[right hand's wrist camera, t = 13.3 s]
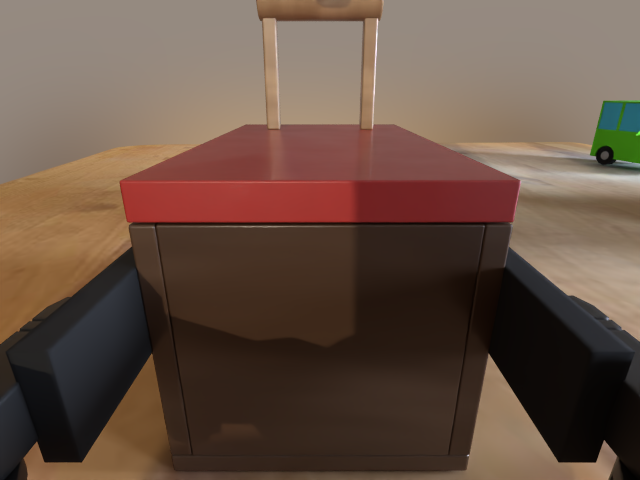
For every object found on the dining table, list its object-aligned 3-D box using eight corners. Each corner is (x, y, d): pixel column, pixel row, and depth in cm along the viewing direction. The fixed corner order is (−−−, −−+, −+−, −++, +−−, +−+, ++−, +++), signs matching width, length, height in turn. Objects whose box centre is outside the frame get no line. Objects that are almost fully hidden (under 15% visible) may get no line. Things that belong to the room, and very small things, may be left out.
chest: (252, 265, 28) (244, 143, 25) (387, 265, 28) (395, 143, 25) (173, 471, 13) (126, 225, 10) (467, 471, 13) (513, 225, 10)
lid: (246, 141, 25) (236, -10, 22) (393, 141, 25) (403, -10, 22) (126, 223, 10) (36, -250, 7) (514, 223, 10) (603, -250, 7)
